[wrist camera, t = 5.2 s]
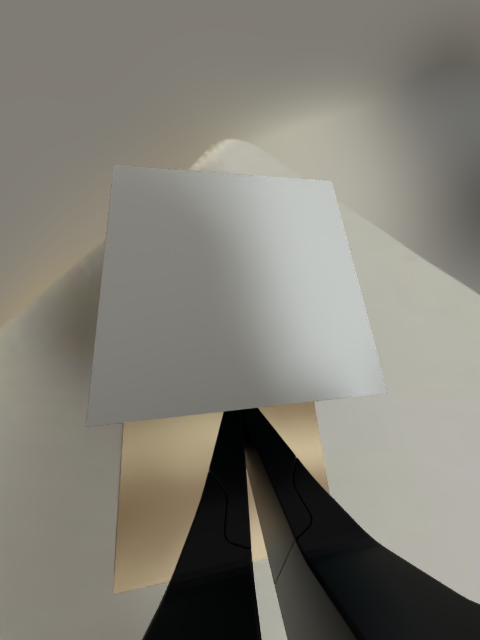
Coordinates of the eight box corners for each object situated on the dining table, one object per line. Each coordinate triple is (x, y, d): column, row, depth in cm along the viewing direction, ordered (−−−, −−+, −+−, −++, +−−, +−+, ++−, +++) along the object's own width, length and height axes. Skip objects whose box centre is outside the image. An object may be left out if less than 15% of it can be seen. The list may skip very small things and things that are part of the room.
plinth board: (332, 535, 15) (362, 571, 12) (117, 585, 12) (90, 644, 10) (289, 278, 20) (303, 261, 17) (135, 279, 18) (121, 260, 15)
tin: (277, 386, 16) (387, 392, 6) (166, 397, 15) (85, 426, 5) (265, 288, 19) (331, 181, 9) (167, 290, 17) (113, 164, 7)
